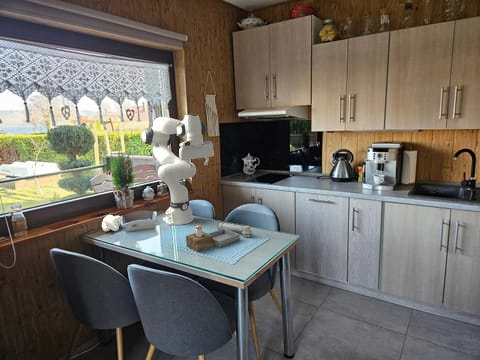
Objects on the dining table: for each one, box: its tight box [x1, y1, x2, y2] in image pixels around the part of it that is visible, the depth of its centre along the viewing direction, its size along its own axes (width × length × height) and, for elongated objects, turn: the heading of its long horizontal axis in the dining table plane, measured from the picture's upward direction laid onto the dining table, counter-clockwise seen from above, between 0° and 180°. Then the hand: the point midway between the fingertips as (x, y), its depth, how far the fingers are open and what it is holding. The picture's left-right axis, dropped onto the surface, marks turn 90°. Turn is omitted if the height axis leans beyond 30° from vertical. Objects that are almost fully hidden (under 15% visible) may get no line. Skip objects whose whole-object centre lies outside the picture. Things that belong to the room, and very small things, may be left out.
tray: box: [208, 228, 241, 249], centre depth 170 cm, size 14×14×4 cm
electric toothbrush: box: [217, 222, 253, 238], centre depth 181 cm, size 5×7×25 cm
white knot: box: [101, 214, 123, 232], centre depth 195 cm, size 11×12×9 cm
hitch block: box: [185, 230, 214, 253], centre depth 163 cm, size 10×10×6 cm
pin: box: [195, 224, 203, 238], centre depth 163 cm, size 3×3×11 cm
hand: (198, 166), depth 179 cm, fingers open, 8 cm apart
